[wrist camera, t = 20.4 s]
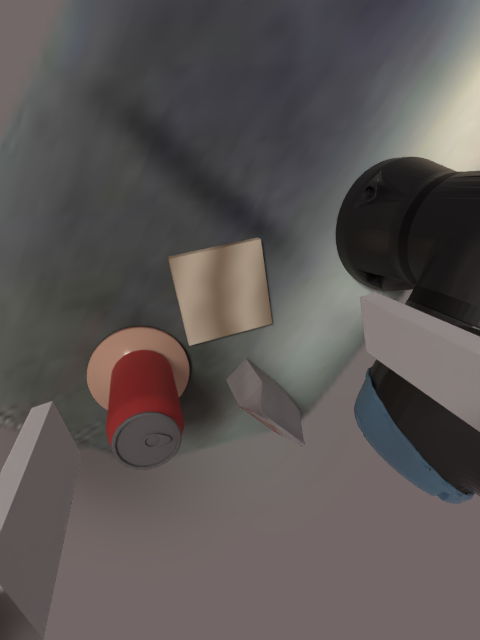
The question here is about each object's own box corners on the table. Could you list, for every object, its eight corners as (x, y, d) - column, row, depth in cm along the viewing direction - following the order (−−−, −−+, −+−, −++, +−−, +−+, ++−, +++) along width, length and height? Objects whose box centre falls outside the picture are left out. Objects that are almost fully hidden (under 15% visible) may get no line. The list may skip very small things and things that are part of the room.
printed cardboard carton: (245, 358, 45) (275, 401, 36) (280, 386, 48) (316, 432, 39) (225, 379, 45) (250, 428, 36) (261, 406, 48) (292, 457, 39)
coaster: (176, 314, 40) (177, 317, 39) (196, 396, 45) (198, 401, 44) (73, 340, 38) (72, 344, 37) (104, 424, 42) (104, 429, 41)
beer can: (171, 398, 42) (185, 470, 32) (111, 402, 41) (105, 480, 30) (173, 346, 40) (189, 404, 30) (110, 348, 38) (103, 411, 28)
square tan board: (257, 237, 40) (260, 239, 39) (268, 320, 44) (272, 323, 43) (167, 256, 38) (168, 258, 37) (187, 341, 42) (189, 345, 41)
